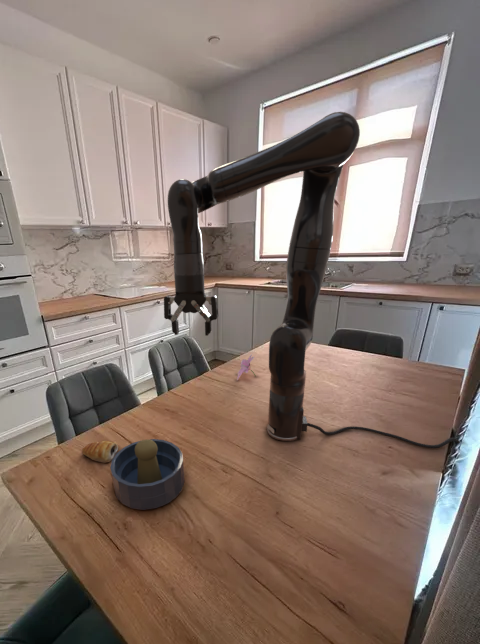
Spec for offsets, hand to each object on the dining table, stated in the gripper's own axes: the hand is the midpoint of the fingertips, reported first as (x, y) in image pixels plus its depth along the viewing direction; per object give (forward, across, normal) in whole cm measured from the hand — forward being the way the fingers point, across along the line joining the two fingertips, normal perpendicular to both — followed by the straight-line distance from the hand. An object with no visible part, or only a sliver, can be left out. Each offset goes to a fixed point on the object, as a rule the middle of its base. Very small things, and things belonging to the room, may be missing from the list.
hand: (191, 334), depth 85 cm
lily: (+29, +18, +43) cm, 55 cm away
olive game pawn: (+30, -6, -25) cm, 39 cm away
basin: (+30, -6, -25) cm, 40 cm away
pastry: (+30, -23, -17) cm, 42 cm away
